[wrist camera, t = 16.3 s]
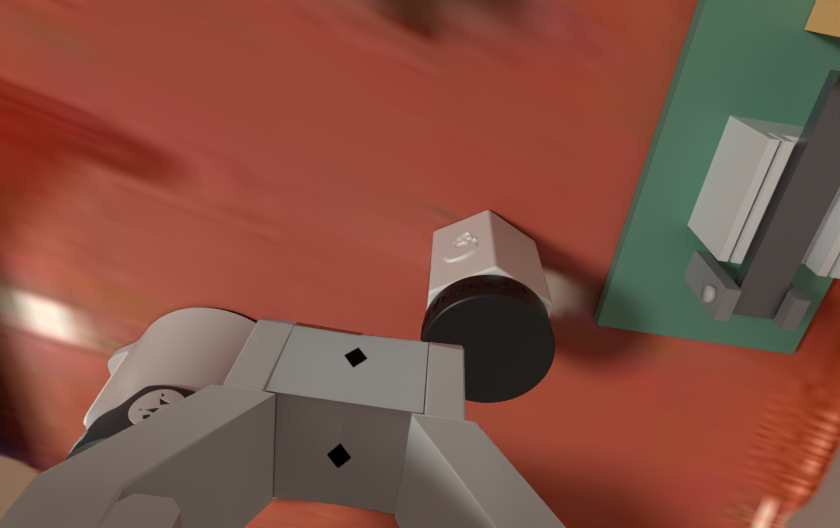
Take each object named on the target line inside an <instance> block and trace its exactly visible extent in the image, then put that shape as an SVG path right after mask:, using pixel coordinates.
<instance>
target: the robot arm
mask: <svg viewBox="0 0 840 528" xmlns="http://www.w3.org/2000/svg"><path fill="white" fill-rule="evenodd" d="M108 368H109V371H110V374H111V377H110V379H109V380H108V382H107V383H106V385H105V386H104V388H103V389H102V391H101V392H100V394H99V395H98V397H97V398H96V400H95V401H94V403H93V404H92V406H91V407H90V409H89V411H88V412H87V414H86V416H85V418H84V425H85V426H86V430H87V431H85V432H84V434H83V435H82V436H80V438H79V439H78V440H77V442H76V443H75V444H74V446H73V448H72V449H71V451H70V454H69V456H68V457H67V458H66V460H65V461H63V462H61V463H60V464H58V465H56V466H54V467H52V468H50V469H48V470H46V471H44V472H42V473H40V474H38V475H36V476H35V478H34V479H33V480H32V481H31V483H30V484H29V485H28V486H27V487H26V489H25V490H24V491H23V492H22V494H21V495H20V496H19V497H18V499H17V500H16V501H15V502H14V503H13V505H12V506H11V507H10V508H9V510H8V511H7V512H6V513H5V515H4V516H3V517H2V518H1V520H0V528H244V527H245V526H246V525H247V524H248V523H249V522H250V521H251V520H253V519H254V517H255V516H257V515H258V514H259V513H260V512H261V511H262V510H263V509H264V508H265V507H266V506H267V505H268V504H269V503H270V502H272V500H276V499H279V498H285V499H294V500H303V501H312V502H321V503H330V504H334V503H335V504H337V505H343V506H349V507H355V508H361V509H367V510H372V511H378V512H384V513H390V514H395V516H394V518H395V520H396V522H397V524H398V526H399V528H566V527H565V526H564V525H563V524H562V522H561V521H560V520H559V519H558V518H557V517H556V515H555V514H554V513H553V512H552V511H551V510H550V508H549V507H548V506H547V505H546V504H545V503H544V501H543V500H542V499H541V498H540V497H539V495H538V494H537V493H536V492H535V491H534V490H533V488H532V487H531V486H530V485H529V484H528V483H527V481H526V480H525V479H524V478H523V477H522V476H521V474H520V473H519V472H518V471H517V470H516V469H515V467H514V466H513V465H512V464H511V463H510V462H509V460H508V459H507V458H506V457H505V456H504V455H503V453H502V452H501V451H500V450H499V449H498V448H497V446H496V445H495V444H494V443H493V442H492V440H491V439H490V438H489V437H488V436H487V435H486V433H485V432H484V431H483V430H482V429H481V428H480V426H479V425H478V424H477V423H476V422H471V421H466V410H465V369H464V349H463V347H462V346H461V345H452V344H443V343H434V342H429V344H428V342H420V341H412V340H405V339H397V338H390V337H382V336H374V335H367V334H363V333H359V332H353V331H347V330H341V329H335V328H329V327H323V326H317V325H311V324H305V323H299V322H297V323H295V322H293V321H286V320H279V319H273V318H266V317H263V318H262V319H260V320H259V321H257V323H255V322H253V321H251V320H249V319H247V318H245V317H243V316H240V315H237V314H235V313H232V312H228V311H224V310H219V309H213V308H188V309H182V310H178V311H175V312H172V313H169V314H167V315H165V316H163V317H161V318H160V319H158V320H157V321H155V322H154V323H153V324H152V325H151V326H150V327H149V328H148V329H147V330H146V331H145V333H144V334H143V335H142V336H141V338H140V339H139V340H138V341H136V342H135V343H133V344H130V345H128V346H125V347H123V348H121V349H119V350H117V351H116V352H115V353H114V354H113V355H112V357H111V358H110V360H109V362H108Z"/></svg>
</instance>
